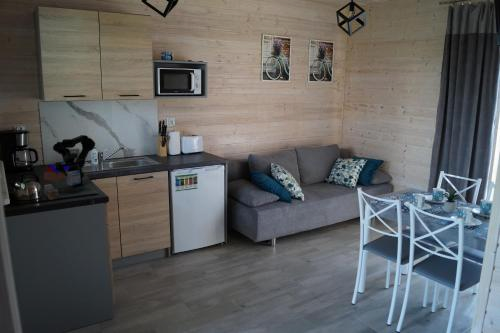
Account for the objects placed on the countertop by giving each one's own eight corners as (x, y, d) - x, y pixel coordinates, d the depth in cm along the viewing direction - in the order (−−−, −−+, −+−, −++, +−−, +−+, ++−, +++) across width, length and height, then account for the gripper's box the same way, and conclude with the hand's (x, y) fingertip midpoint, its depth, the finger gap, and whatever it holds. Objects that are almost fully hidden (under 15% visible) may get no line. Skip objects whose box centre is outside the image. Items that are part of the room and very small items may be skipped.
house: (74, 175, 327) (73, 161, 325) (57, 181, 309) (55, 166, 306) (62, 174, 331) (61, 160, 328) (43, 180, 312) (42, 165, 309)
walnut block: (56, 196, 266) (55, 189, 265) (58, 198, 262) (58, 190, 261) (48, 198, 262) (47, 190, 261) (50, 199, 259) (49, 192, 258)
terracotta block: (51, 192, 275) (50, 184, 274) (53, 194, 272) (52, 185, 271) (45, 193, 273) (44, 185, 271) (46, 195, 270) (46, 186, 268)
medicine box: (71, 185, 271) (70, 172, 269) (66, 185, 272) (65, 172, 271) (81, 183, 278) (80, 170, 276) (76, 182, 280) (75, 170, 278)
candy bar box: (65, 167, 358) (64, 149, 354) (68, 166, 363) (67, 148, 359) (78, 168, 357) (76, 149, 353) (81, 166, 361) (79, 148, 358)
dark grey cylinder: (53, 194, 271) (52, 185, 270) (55, 196, 267) (54, 187, 266) (45, 195, 268) (44, 187, 266) (47, 197, 264) (46, 188, 263)
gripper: (54, 150, 267) (60, 169, 261) (83, 147, 279) (90, 165, 273) (51, 160, 275) (58, 179, 269) (80, 157, 287) (87, 175, 281)
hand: (73, 174), depth 273 cm, fingers closed on medicine box, 9 cm apart
